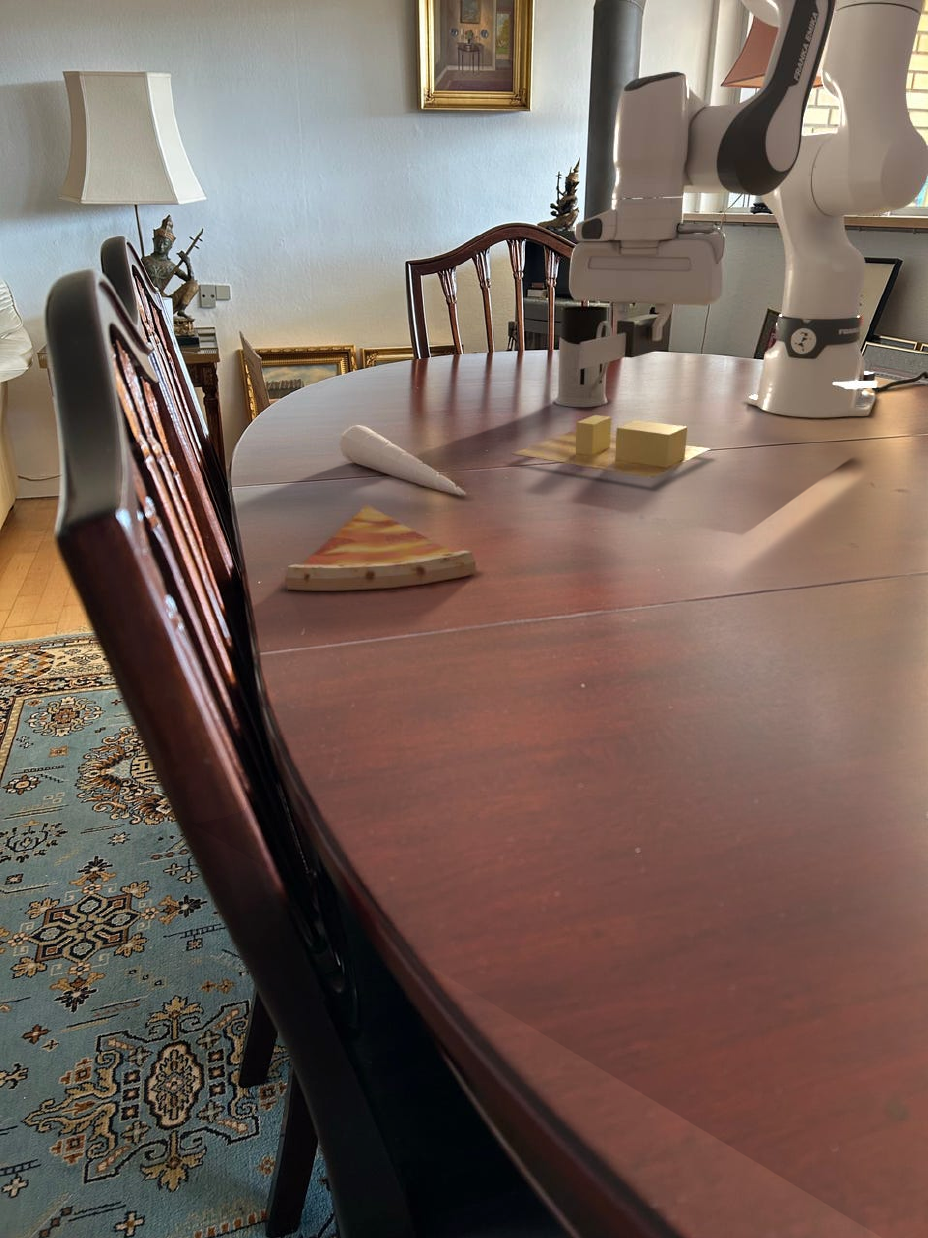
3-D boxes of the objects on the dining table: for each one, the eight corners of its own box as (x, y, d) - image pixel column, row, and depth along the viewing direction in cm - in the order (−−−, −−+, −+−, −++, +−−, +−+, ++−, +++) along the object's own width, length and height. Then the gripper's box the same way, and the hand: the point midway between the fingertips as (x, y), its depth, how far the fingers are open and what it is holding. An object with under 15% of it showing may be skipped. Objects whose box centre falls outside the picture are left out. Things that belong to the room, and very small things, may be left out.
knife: (646, 348, 122) (648, 314, 120) (662, 349, 120) (665, 314, 118) (571, 367, 107) (573, 329, 105) (589, 369, 106) (590, 330, 104)
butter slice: (593, 445, 117) (594, 414, 116) (609, 447, 116) (611, 416, 115) (575, 453, 114) (576, 422, 112) (592, 455, 112) (593, 424, 111)
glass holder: (593, 395, 156) (597, 304, 149) (632, 410, 143) (637, 312, 137) (547, 399, 153) (548, 307, 147) (582, 415, 141) (586, 315, 135)
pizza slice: (507, 520, 95) (507, 502, 94) (459, 603, 75) (458, 581, 74) (367, 512, 98) (365, 494, 97) (286, 590, 79) (284, 569, 78)
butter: (633, 451, 114) (635, 419, 113) (684, 458, 110) (687, 426, 109) (614, 459, 111) (616, 427, 109) (666, 467, 107) (669, 434, 105)
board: (576, 439, 127) (576, 429, 126) (709, 459, 115) (710, 448, 115) (511, 464, 115) (511, 453, 115) (652, 489, 104) (653, 477, 103)
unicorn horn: (438, 505, 100) (437, 463, 98) (339, 463, 118) (336, 426, 116) (473, 497, 102) (472, 456, 100) (370, 457, 120) (368, 421, 118)
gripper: (736, 221, 108) (725, 340, 113) (588, 223, 119) (585, 331, 125) (715, 224, 103) (705, 347, 109) (564, 225, 115) (562, 337, 120)
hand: (640, 339), depth 117 cm, fingers closed on knife, 2 cm apart
